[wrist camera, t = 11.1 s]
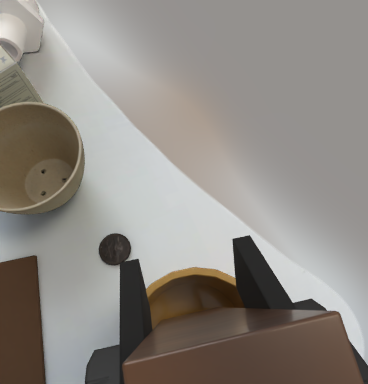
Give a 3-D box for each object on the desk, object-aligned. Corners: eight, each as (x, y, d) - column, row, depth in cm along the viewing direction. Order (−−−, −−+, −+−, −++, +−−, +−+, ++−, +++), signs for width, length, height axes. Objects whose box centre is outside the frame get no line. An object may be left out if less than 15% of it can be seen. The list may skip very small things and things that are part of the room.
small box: (28, 86, 38) (-8, 31, 30) (49, 110, 37) (17, 61, 29) (-12, 110, 37) (-59, 60, 29) (9, 136, 36) (-35, 92, 28)
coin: (131, 233, 32) (100, 233, 32) (131, 233, 32) (100, 233, 32) (130, 264, 31) (98, 265, 31) (130, 264, 31) (97, 264, 31)
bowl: (55, 123, 36) (28, 81, 30) (120, 180, 34) (106, 149, 28) (-20, 186, 34) (-68, 156, 27) (45, 252, 32) (10, 237, 25)
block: (172, 384, 21) (165, 693, 4) (160, 320, 23) (120, 362, 6) (232, 369, 22) (441, 600, 5) (217, 306, 23) (340, 310, 6)
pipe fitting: (-14, 78, 37) (-3, 33, 41) (51, 72, 37) (55, 28, 41) (-49, 26, 32) (-33, -20, 35) (27, 19, 32) (34, -26, 36)
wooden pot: (146, 413, 28) (134, 460, 19) (128, 291, 31) (110, 285, 22) (261, 384, 28) (298, 417, 20) (231, 268, 32) (252, 254, 23)
